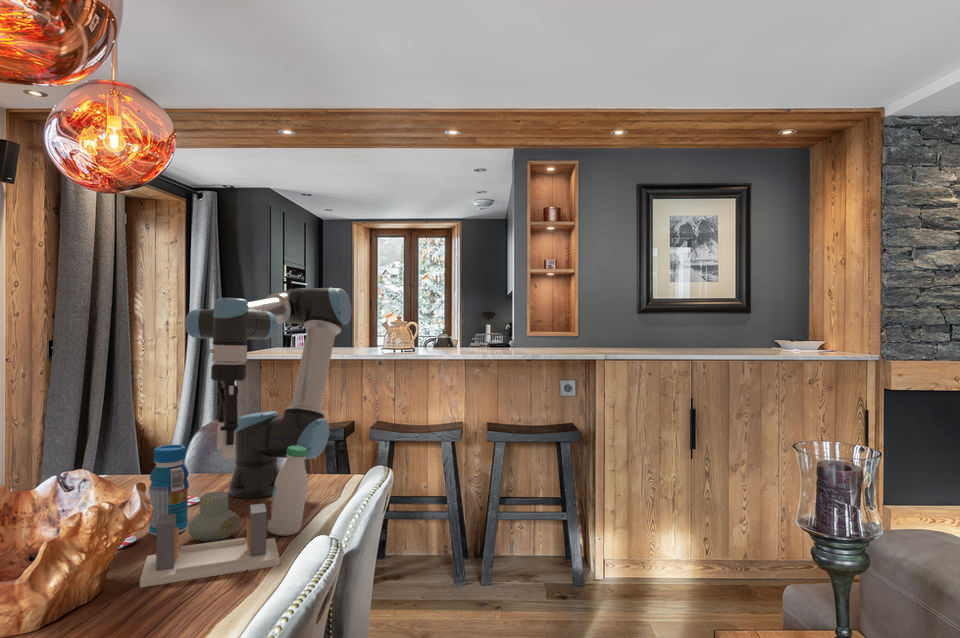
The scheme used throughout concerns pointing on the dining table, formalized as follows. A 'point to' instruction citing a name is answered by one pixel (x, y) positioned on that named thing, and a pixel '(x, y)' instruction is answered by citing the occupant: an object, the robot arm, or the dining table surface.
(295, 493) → the milk bottle
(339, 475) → the dining table surface
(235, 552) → the rail
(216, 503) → the air freshener
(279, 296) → the robot arm
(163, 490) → the beverage bottle
